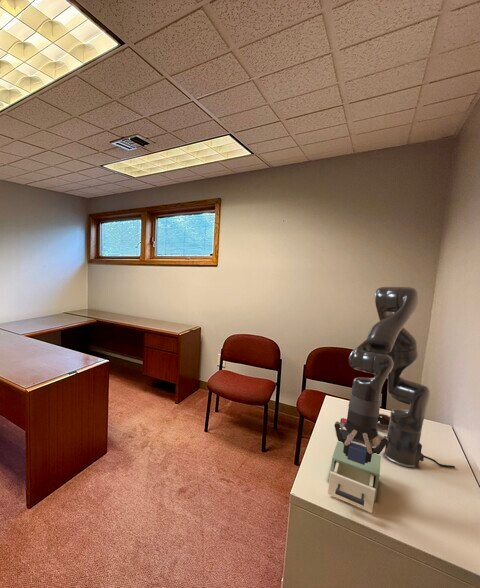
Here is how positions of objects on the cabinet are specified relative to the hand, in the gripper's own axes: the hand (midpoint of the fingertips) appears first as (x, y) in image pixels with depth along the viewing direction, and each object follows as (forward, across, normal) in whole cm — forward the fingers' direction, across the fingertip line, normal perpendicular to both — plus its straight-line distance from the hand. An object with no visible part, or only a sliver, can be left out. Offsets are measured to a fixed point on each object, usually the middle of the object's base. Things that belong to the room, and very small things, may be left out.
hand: (356, 458), depth 106 cm
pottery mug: (+14, -6, -70) cm, 72 cm away
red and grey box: (+14, +2, -53) cm, 55 cm away
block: (0, 0, 0) cm, 0 cm away
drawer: (+14, 0, +1) cm, 14 cm away
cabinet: (+14, 0, -11) cm, 18 cm away
